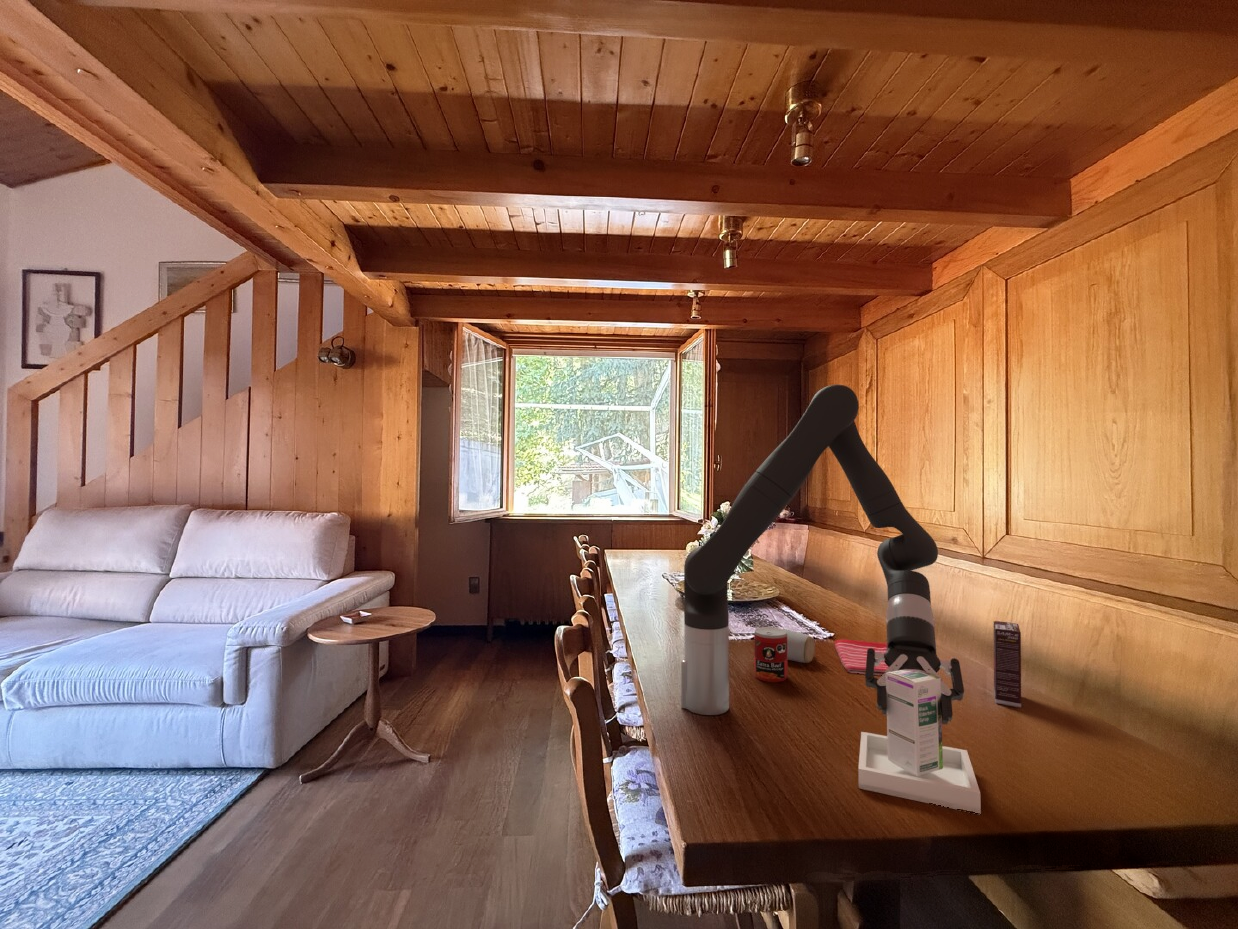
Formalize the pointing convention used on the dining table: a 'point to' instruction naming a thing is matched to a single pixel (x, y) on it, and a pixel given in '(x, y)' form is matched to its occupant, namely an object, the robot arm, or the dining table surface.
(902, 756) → the syrup box
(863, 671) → the dish towel
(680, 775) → the dining table surface
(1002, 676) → the supplement box
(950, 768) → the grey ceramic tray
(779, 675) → the canned food
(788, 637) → the ceramic mug
